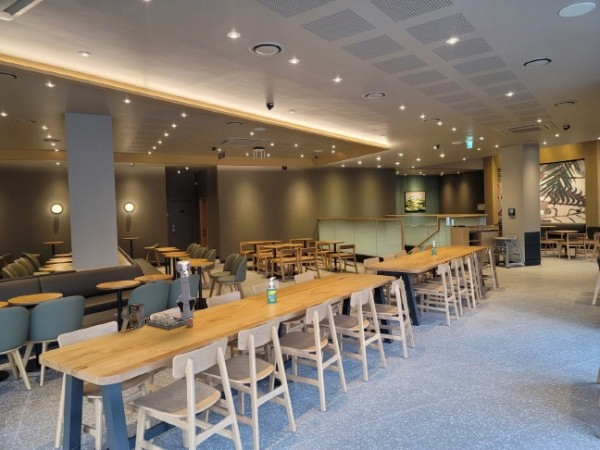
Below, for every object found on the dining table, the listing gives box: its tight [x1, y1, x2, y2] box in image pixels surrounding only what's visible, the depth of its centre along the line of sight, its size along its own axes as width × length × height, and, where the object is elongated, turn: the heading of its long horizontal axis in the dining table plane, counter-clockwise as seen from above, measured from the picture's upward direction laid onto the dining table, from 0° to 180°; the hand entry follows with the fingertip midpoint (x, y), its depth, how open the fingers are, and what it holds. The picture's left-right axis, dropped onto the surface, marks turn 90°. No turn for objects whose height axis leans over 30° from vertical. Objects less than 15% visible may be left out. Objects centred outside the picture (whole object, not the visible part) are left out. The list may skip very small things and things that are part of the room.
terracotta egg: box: [186, 317, 194, 328], centre depth 297 cm, size 4×4×6 cm
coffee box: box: [128, 302, 146, 329], centre depth 300 cm, size 9×6×16 cm
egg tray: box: [146, 311, 188, 330], centre depth 304 cm, size 18×26×7 cm
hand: (186, 311), depth 295 cm, fingers open, 7 cm apart
